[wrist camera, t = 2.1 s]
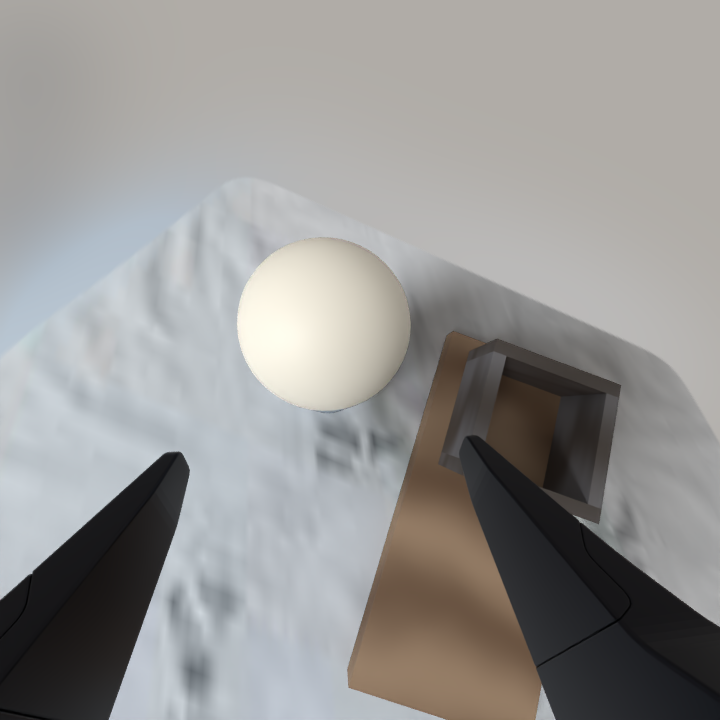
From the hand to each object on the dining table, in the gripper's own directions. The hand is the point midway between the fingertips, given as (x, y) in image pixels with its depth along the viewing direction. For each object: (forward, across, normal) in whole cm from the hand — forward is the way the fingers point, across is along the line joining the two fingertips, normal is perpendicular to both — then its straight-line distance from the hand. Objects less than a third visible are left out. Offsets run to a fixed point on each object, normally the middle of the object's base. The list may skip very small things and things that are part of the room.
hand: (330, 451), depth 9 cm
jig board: (+3, -10, +12) cm, 16 cm away
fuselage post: (+10, 0, +5) cm, 11 cm away
